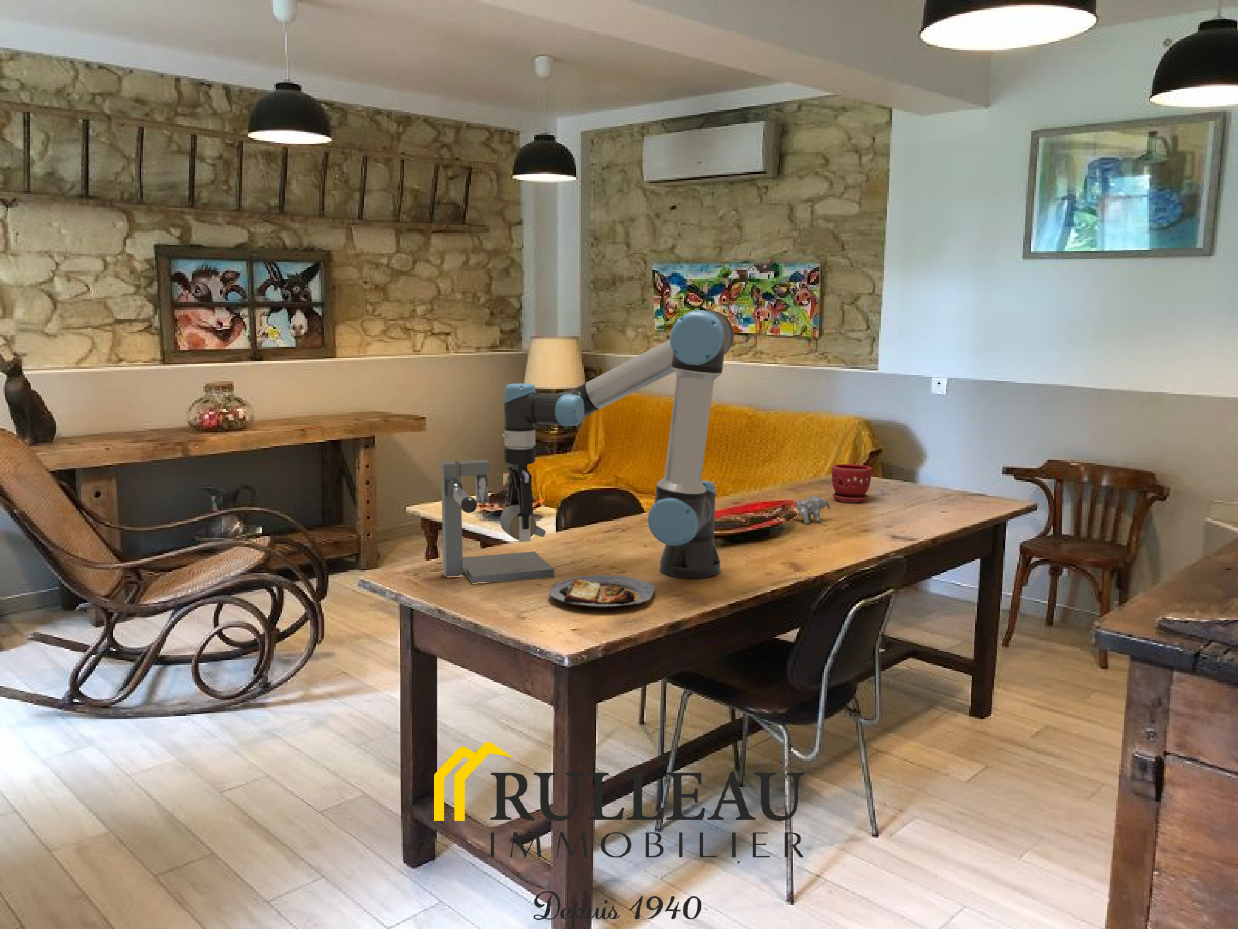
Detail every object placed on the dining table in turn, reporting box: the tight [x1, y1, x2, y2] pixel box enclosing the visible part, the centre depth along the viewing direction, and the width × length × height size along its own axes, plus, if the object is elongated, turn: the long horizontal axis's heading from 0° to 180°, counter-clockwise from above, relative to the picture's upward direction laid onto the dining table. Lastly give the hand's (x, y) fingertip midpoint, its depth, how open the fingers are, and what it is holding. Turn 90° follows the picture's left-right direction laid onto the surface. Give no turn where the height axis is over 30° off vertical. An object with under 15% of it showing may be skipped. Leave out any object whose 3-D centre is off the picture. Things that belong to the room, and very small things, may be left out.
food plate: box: [548, 574, 657, 609], centre depth 220 cm, size 25×23×4 cm
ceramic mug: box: [499, 505, 546, 541], centre depth 241 cm, size 11×8×8 cm
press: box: [440, 459, 555, 584], centre depth 238 cm, size 18×25×28 cm
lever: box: [447, 481, 478, 514], centre depth 221 cm, size 21×4×4 cm, turn 20°
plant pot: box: [831, 463, 872, 504], centre depth 330 cm, size 13×13×12 cm
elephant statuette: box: [795, 494, 831, 525], centre depth 299 cm, size 9×12×8 cm
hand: (520, 537), depth 241 cm, fingers closed on ceramic mug, 8 cm apart
